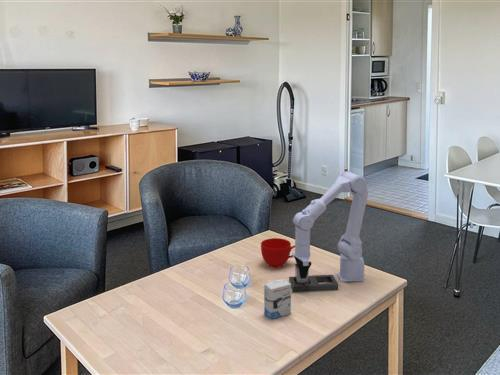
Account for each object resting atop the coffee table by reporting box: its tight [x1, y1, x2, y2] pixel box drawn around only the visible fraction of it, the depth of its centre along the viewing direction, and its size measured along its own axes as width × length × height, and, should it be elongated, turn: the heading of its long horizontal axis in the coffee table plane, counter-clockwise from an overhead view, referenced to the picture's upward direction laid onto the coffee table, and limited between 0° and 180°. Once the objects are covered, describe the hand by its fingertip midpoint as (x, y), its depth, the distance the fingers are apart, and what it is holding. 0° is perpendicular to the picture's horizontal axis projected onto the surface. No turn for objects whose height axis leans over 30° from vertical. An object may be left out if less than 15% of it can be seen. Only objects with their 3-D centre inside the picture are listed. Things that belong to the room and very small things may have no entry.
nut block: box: [294, 263, 310, 284], centre depth 198 cm, size 4×4×6 cm
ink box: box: [263, 278, 292, 320], centre depth 178 cm, size 8×5×12 cm, turn 117°
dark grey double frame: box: [288, 274, 339, 293], centre depth 200 cm, size 18×9×2 cm, turn 95°
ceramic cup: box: [260, 237, 295, 269], centre depth 219 cm, size 13×17×10 cm
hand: (302, 275), depth 198 cm, fingers closed on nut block, 4 cm apart
